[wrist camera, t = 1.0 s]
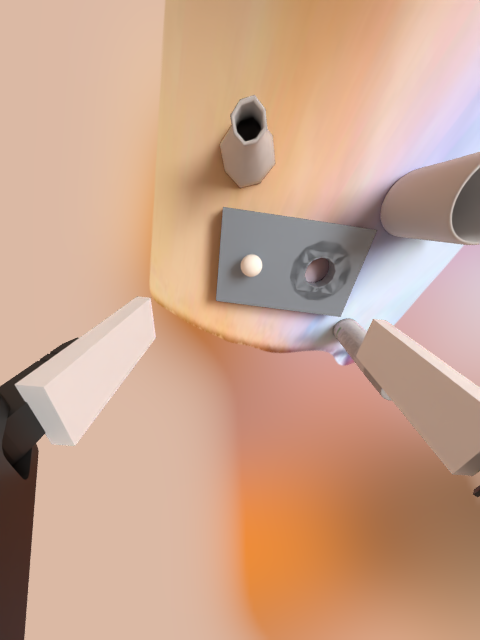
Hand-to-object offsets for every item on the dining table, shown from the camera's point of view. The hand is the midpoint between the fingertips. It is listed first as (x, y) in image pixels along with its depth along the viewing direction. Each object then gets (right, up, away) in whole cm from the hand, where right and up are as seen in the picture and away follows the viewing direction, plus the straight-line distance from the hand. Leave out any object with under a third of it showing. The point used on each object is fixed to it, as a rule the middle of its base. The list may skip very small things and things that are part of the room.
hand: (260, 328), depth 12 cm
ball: (0, +9, +17) cm, 19 cm away
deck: (+7, +10, +21) cm, 24 cm away
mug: (+25, +17, +16) cm, 35 cm away
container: (+20, -1, +26) cm, 33 cm away
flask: (0, +23, +14) cm, 27 cm away
